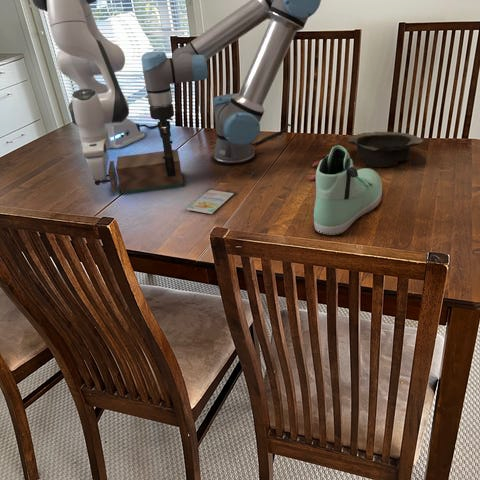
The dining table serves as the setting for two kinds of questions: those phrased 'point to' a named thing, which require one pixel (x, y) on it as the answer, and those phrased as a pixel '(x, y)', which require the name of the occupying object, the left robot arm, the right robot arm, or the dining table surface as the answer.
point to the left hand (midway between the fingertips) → (104, 182)
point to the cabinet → (147, 172)
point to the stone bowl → (384, 147)
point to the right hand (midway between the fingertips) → (170, 169)
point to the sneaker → (343, 192)
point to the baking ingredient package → (210, 201)
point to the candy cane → (315, 173)
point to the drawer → (111, 175)
